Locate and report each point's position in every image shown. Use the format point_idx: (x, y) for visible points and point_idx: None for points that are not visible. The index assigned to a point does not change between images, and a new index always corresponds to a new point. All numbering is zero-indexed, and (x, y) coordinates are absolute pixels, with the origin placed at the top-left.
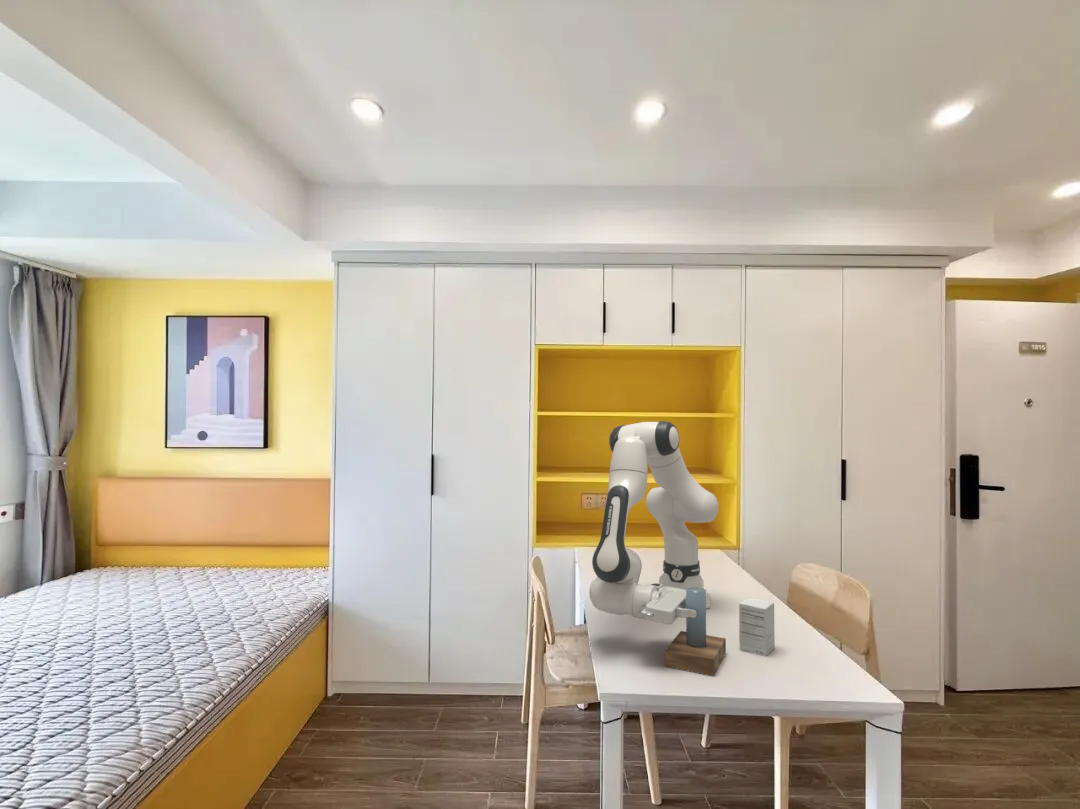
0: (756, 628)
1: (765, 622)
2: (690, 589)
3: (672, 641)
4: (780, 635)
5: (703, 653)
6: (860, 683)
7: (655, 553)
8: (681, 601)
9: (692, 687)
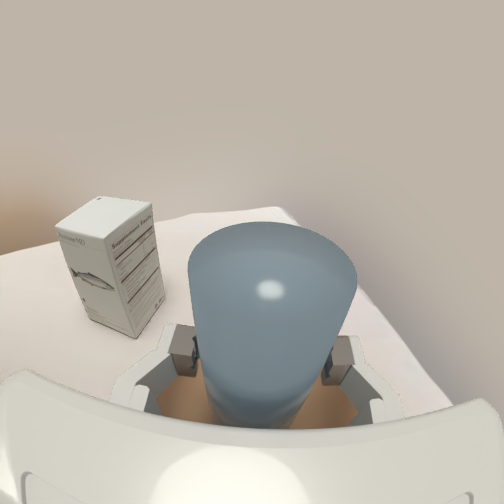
0: (146, 263)
1: (154, 234)
2: (286, 295)
3: None
4: (61, 272)
5: (323, 390)
6: (238, 217)
7: None
8: (266, 429)
9: (415, 400)
